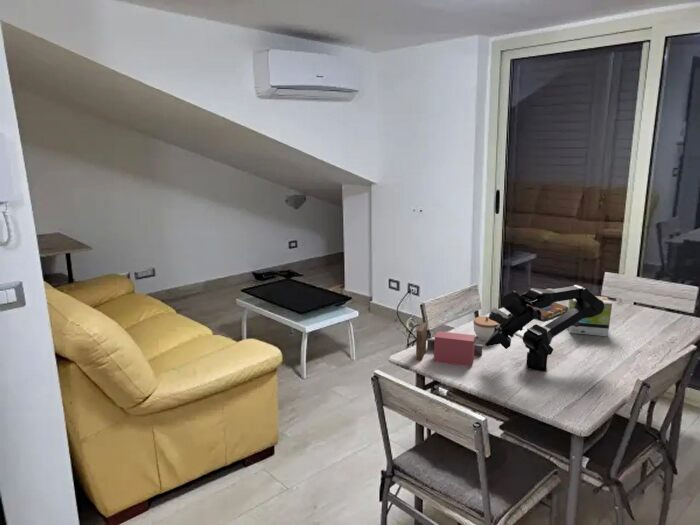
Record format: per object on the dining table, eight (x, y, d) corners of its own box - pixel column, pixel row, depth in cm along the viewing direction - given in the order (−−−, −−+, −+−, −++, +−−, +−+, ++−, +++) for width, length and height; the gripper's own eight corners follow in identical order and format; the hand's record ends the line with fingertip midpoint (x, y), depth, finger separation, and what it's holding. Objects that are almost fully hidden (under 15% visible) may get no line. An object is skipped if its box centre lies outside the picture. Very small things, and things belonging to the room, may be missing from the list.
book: (573, 312, 247) (575, 302, 246) (544, 324, 233) (545, 313, 231) (543, 302, 260) (544, 292, 258) (513, 312, 245) (514, 303, 244)
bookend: (482, 354, 199) (483, 325, 196) (478, 368, 187) (480, 337, 184) (423, 347, 206) (423, 318, 203) (416, 360, 194) (416, 330, 192)
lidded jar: (489, 345, 207) (490, 323, 205) (467, 337, 215) (468, 316, 213) (504, 338, 214) (506, 317, 211) (483, 331, 222) (484, 310, 219)
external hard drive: (526, 341, 212) (507, 331, 223) (542, 338, 214) (522, 328, 226) (526, 338, 211) (507, 327, 223) (542, 335, 214) (523, 325, 225)
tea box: (569, 334, 218) (573, 300, 214) (566, 325, 227) (569, 293, 223) (608, 336, 214) (612, 303, 210) (603, 328, 224) (606, 295, 220)
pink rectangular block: (473, 360, 194) (475, 335, 192) (472, 366, 189) (473, 341, 186) (436, 355, 199) (437, 331, 196) (433, 361, 193) (434, 336, 191)
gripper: (504, 294, 191) (473, 320, 197) (501, 311, 174) (467, 338, 180) (526, 316, 190) (493, 341, 196) (525, 335, 173) (489, 361, 179)
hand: (485, 344), depth 188 cm, fingers closed
